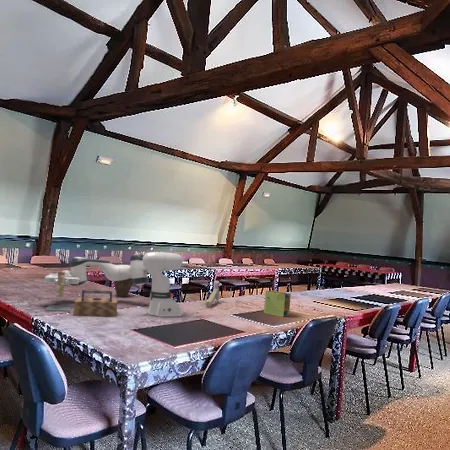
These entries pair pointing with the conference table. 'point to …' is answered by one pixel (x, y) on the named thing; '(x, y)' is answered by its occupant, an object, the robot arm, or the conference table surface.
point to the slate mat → (58, 308)
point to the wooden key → (60, 284)
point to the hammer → (213, 295)
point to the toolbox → (95, 305)
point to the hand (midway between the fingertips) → (60, 281)
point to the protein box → (277, 303)
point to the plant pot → (123, 287)
